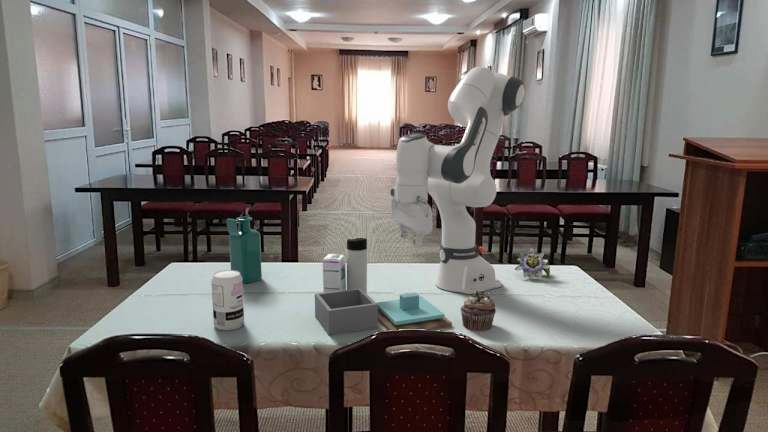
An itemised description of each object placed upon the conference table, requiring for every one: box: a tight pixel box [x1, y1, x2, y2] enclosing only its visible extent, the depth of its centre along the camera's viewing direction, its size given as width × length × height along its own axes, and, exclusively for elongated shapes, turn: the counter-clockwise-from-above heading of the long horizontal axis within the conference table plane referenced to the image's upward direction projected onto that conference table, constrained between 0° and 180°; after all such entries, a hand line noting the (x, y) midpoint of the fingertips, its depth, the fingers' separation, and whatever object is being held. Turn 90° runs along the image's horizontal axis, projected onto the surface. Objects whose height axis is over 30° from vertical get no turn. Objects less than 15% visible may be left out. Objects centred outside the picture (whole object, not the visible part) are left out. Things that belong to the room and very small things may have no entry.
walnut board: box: [377, 309, 453, 331], centre depth 166 cm, size 18×18×1 cm
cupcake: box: [460, 291, 497, 332], centre depth 161 cm, size 10×10×10 cm
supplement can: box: [210, 269, 245, 331], centre depth 159 cm, size 8×8×15 cm
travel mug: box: [346, 237, 368, 295], centre depth 179 cm, size 6×7×20 cm
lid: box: [376, 292, 446, 325], centre depth 165 cm, size 15×15×6 cm
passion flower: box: [514, 247, 551, 281], centre depth 205 cm, size 11×11×12 cm
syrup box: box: [322, 253, 347, 293], centre depth 178 cm, size 6×6×14 cm
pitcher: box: [225, 216, 263, 285], centre depth 196 cm, size 10×8×22 cm
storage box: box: [314, 288, 378, 336], centre depth 163 cm, size 14×14×7 cm
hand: (410, 242), depth 161 cm, fingers open, 8 cm apart
